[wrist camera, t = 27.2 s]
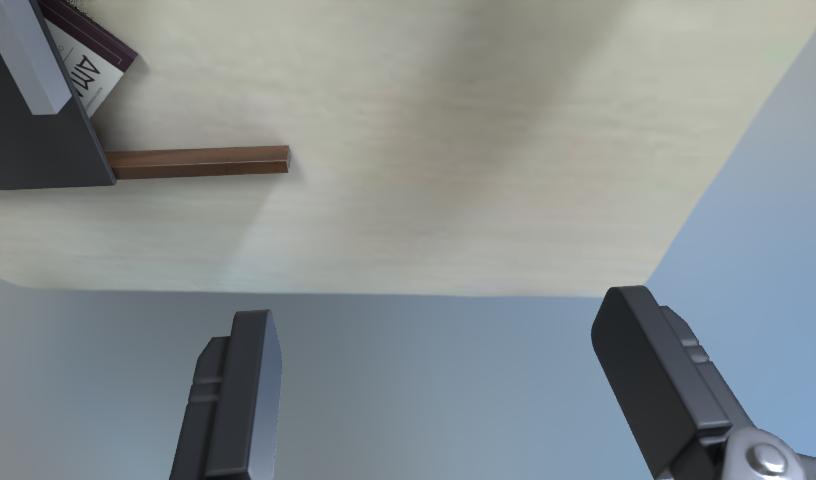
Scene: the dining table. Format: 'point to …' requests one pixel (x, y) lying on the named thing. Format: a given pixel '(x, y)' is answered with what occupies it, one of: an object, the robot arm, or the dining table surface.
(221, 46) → the dining table surface
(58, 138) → the lid
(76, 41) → the chocolate bar
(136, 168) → the rails
